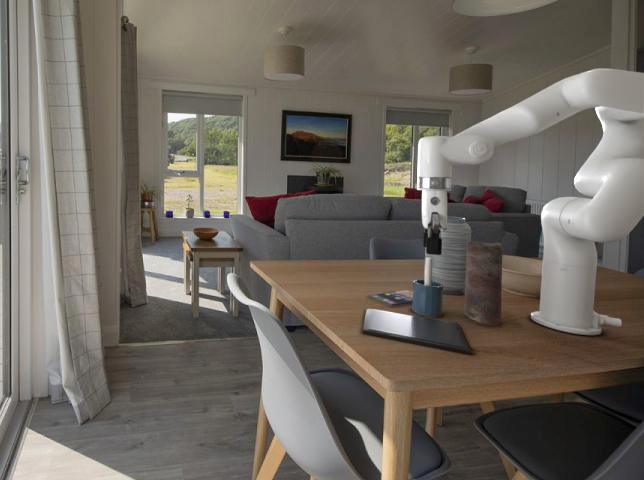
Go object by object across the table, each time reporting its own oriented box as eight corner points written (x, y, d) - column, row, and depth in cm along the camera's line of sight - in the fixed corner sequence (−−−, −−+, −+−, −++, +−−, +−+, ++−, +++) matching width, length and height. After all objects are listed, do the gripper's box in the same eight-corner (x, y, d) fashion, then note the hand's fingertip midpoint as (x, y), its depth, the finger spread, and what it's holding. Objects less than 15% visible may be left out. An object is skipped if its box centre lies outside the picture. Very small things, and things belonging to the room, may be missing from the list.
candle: (456, 316, 100) (460, 239, 99) (474, 313, 103) (479, 237, 102) (488, 328, 93) (494, 245, 92) (507, 324, 96) (512, 243, 95)
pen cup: (439, 311, 103) (441, 281, 103) (442, 319, 97) (444, 288, 97) (411, 306, 106) (412, 277, 106) (412, 314, 100) (414, 284, 100)
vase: (430, 282, 131) (433, 214, 130) (471, 291, 122) (476, 218, 121) (418, 289, 123) (421, 216, 122) (461, 298, 114) (466, 220, 113)
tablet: (457, 326, 93) (458, 323, 93) (470, 354, 79) (470, 350, 79) (366, 311, 102) (366, 307, 102) (363, 333, 88) (363, 329, 88)
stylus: (429, 310, 102) (432, 257, 102) (429, 312, 101) (432, 259, 100) (422, 309, 103) (425, 257, 102) (423, 311, 102) (426, 258, 101)
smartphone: (368, 297, 113) (368, 293, 113) (406, 292, 119) (406, 288, 119) (391, 307, 106) (391, 302, 106) (431, 301, 111) (431, 297, 111)
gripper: (456, 186, 91) (454, 259, 92) (446, 183, 106) (444, 246, 107) (419, 185, 94) (417, 255, 95) (415, 183, 110) (413, 243, 110)
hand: (431, 250), depth 101 cm, fingers open, 9 cm apart
